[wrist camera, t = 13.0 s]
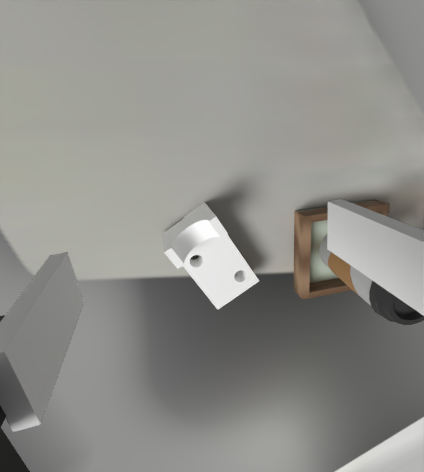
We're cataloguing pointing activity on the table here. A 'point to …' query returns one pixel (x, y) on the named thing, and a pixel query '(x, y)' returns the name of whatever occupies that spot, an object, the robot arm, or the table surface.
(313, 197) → the table surface
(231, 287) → the bracket
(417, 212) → the table surface
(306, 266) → the cup dock
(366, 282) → the coffee cup
